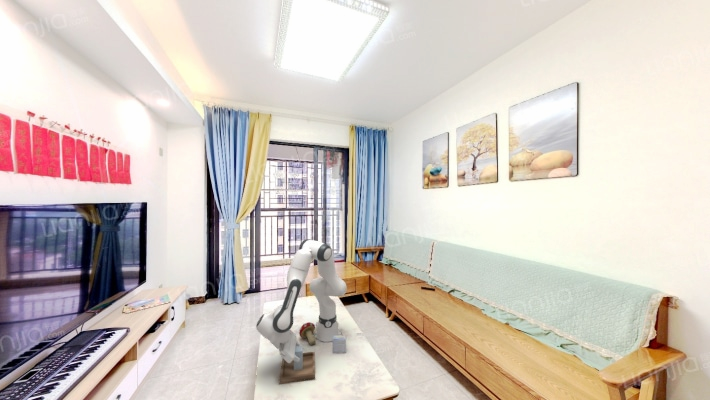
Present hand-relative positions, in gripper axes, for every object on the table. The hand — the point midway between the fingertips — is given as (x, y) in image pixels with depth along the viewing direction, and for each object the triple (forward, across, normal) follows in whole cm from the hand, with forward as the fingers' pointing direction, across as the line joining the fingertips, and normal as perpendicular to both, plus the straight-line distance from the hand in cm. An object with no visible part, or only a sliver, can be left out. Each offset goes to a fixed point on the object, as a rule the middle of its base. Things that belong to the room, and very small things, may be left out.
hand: (299, 354), depth 128 cm
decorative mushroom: (+9, +25, +3) cm, 27 cm away
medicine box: (+22, +11, -11) cm, 27 cm away
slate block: (+4, 0, +5) cm, 7 cm away
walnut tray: (+5, 0, +6) cm, 8 cm away
